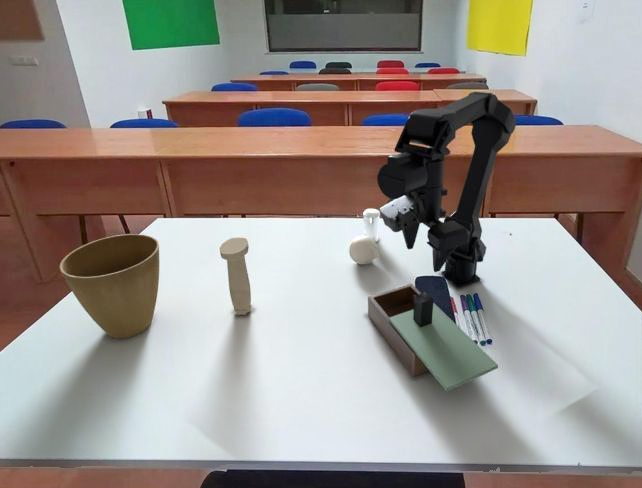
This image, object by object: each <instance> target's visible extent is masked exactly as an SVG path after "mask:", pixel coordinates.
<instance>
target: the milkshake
mask: <svg viewBox="0 0 642 488" xmlns="http://www.w3.org/2000/svg"><path fill="white" fill-rule="evenodd" d="M362 216H363V217H362V218H363V223H364V224H363V225H364V236H367V237H370V238H371V239H373V240H374V241H375V243H376V244H377V242H378V241H379V229H380V219H381V213H380V210H378V209H376V208H366V209H365V210H364V211H363V213H362Z"/></svg>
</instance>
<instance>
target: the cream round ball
mask: <svg viewBox="0 0 642 488" xmlns="http://www.w3.org/2000/svg"><path fill="white" fill-rule="evenodd" d="M348 253H349V257H350V259H351V260H352V261H353V262H354V263H356V264H358V265H368V264H370V263H371V262H373V261H375V260H376V259H377V258H378V257H379V246H378V244H377V242H376V243H375V241H374V240H373V239H371V238H370V237H367V236H365V235H360V236H359V235H358V236H357V237H354V239H352V241H351V242H350V244H349V247H348Z"/></svg>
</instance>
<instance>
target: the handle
mask: <svg viewBox="0 0 642 488" xmlns="http://www.w3.org/2000/svg"><path fill="white" fill-rule="evenodd" d="M249 248H250V247H249V241H248V239H247V238H246V237H231V238H228V239H227V240H225V241H224V242H222V244H220V247H219V254H220V258H221V259H223V260H225V261H226V264H227V265H226V267H227V278H228V290H229V296H230V301H231V305H232V307H233V310H234V313H235V314H236V316H245V315H247V314H248V313H249V312H251V311H252V303H251V302H252V290H251V283H250V279H249V273H248V268H247V263H246V255H247V254H248V253H249Z"/></svg>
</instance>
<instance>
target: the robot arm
mask: <svg viewBox="0 0 642 488" xmlns="http://www.w3.org/2000/svg"><path fill="white" fill-rule="evenodd" d="M469 124H470V125H471V126H472V127H471V133H470V134H471V138H472V141H473V144H474V148H473V152H472V156H471V159H470V162H469V165H468V168H467V169H468V170H467V173H466V175H465V180H464V183H463V187H462V190H461V193H460V196H459V201H458V204H457V207H456V210H455V211H454V212H453V213H452V214H451V215H450V216H449V215H447V211H446V210H445V209H443V208H442V202H443V201H442V200H443V197H444V196H445V197H446V196H448V189H447V188H445V187H444V173H445V172H444V171H445V158H446V156H449V155H450V154H451V150H450V149H449V148H448V145H449V144H450V143H451V142H453V140H455V139H456V137H457V136H456V135H457V134H456V133H457V131H458V130H460V129H461V128H463V127H465V126H466V125H469ZM516 126H517V120H516V116H515V114H514V113H513V110H512V109H511V108H510V107H508V106H507V105H505V104H504V103H503V102H502V101H500V100H499V99H498V96H497V95H496V94H494V93H493V92H487V91H472V92H470V93H468V95H467V96H465V97H461V98H459V99H458V100H456V101H454V102H451V103H449V104H446V105H445V106H442V107H439V108H422V109H415V110H414V111H412V112H411V113H410V115H409V116H408V118H407V120H406V122H405V124H404V126H403V129H402V131H401V133H400V135H399V138H398V140H397V142H396V144H395V147H394V149H393V150H394V153H398V154H391V155H388V156H387V163H385V164H383V165H382V166H381V167H380V168H379V171H378V174H377V176H376V181H377V185H378V189H379V190H380V191H381V193H382V194H383V195H384V196H385V197H386V198H388V201H386V204H385V205H383V206H381V207H380V208H379V212H380V213H381V214H380V217H381V218H382V222H383V224H384V226H386V227H388V228H389V229H390V230H391V231H392V232H393V233H399V232H402V235H403V240H404V243H405V246H406V249H407V250H412V249H414V246H415V243H416V241H417V236H418V232H419V228H420V224H423V225H424V226H426V227H427V228H429V229H428V230H427V234H426V235H427V240H428V241H426V244H427V245H428V246H429V247H430V248H431V249H432V268H433V272H434V273H438V272H440V271H441V269H442V268H443V267H444V270H442V271H441V275H442V276H443V277H444V278H445V279H447V280H448V281H449V282H450V283H451V284H452V285H454V286H455V287H456V288H463V287H465V286H468V285H472V284H474V283H478V282H480V281H481V277H480V276H478V275H477V267H478V263H483V261H484V257H485V255H486V253H487V252H486V251H487V246H486V244H484V243H485V242H483V240H482V239H481V238H482V233H483V229H482V225H481V222H480V219H479V216H480V212H481V209H482V206H483V202H484V198H485V195H486V192H487V189H488V185H489V183H490V182H489V181H490V179H491V175H492V173H493V172H492V171H493V167H494V165H495V162H496V158H497V154H498V153H499V152H500V151H501V150H502V149H503V148H504V147H506V145H508V143H509V141H510V138H511V137H512V134H514V131H515V129H516ZM443 217H445V218H444V219H443V221H441V220H440V219H441V218H443Z"/></svg>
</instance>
